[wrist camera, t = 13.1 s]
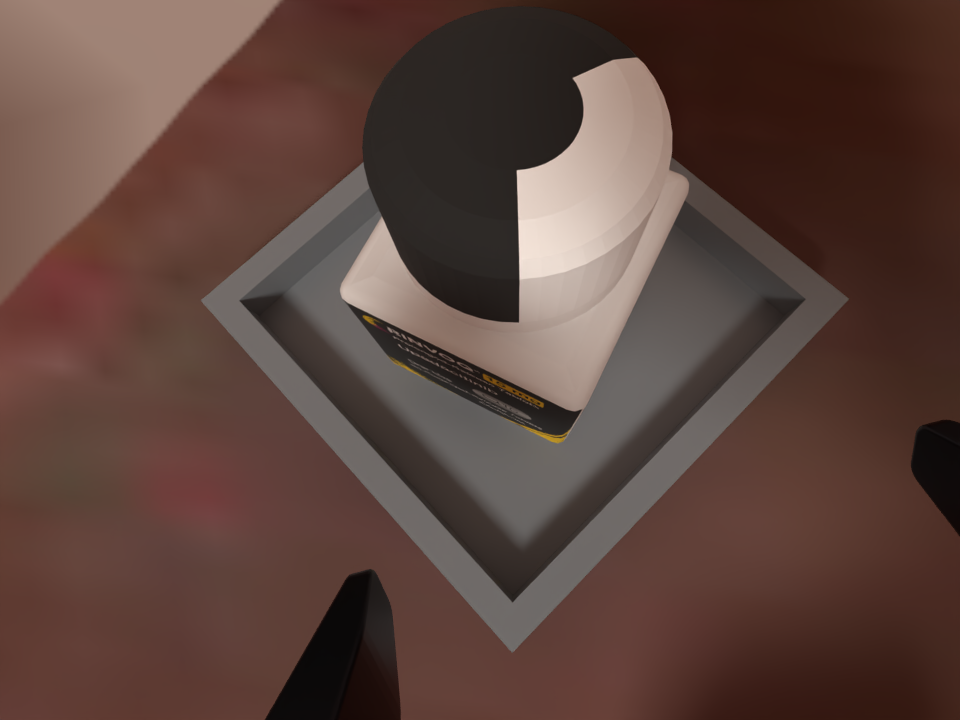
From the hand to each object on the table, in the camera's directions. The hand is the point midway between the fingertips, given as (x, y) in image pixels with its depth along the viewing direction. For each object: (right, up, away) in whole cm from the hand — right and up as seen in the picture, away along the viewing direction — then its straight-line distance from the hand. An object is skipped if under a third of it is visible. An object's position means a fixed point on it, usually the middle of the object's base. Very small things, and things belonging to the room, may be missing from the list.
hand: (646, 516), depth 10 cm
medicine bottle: (-1, +4, +13) cm, 14 cm away
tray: (-1, +4, +14) cm, 14 cm away
